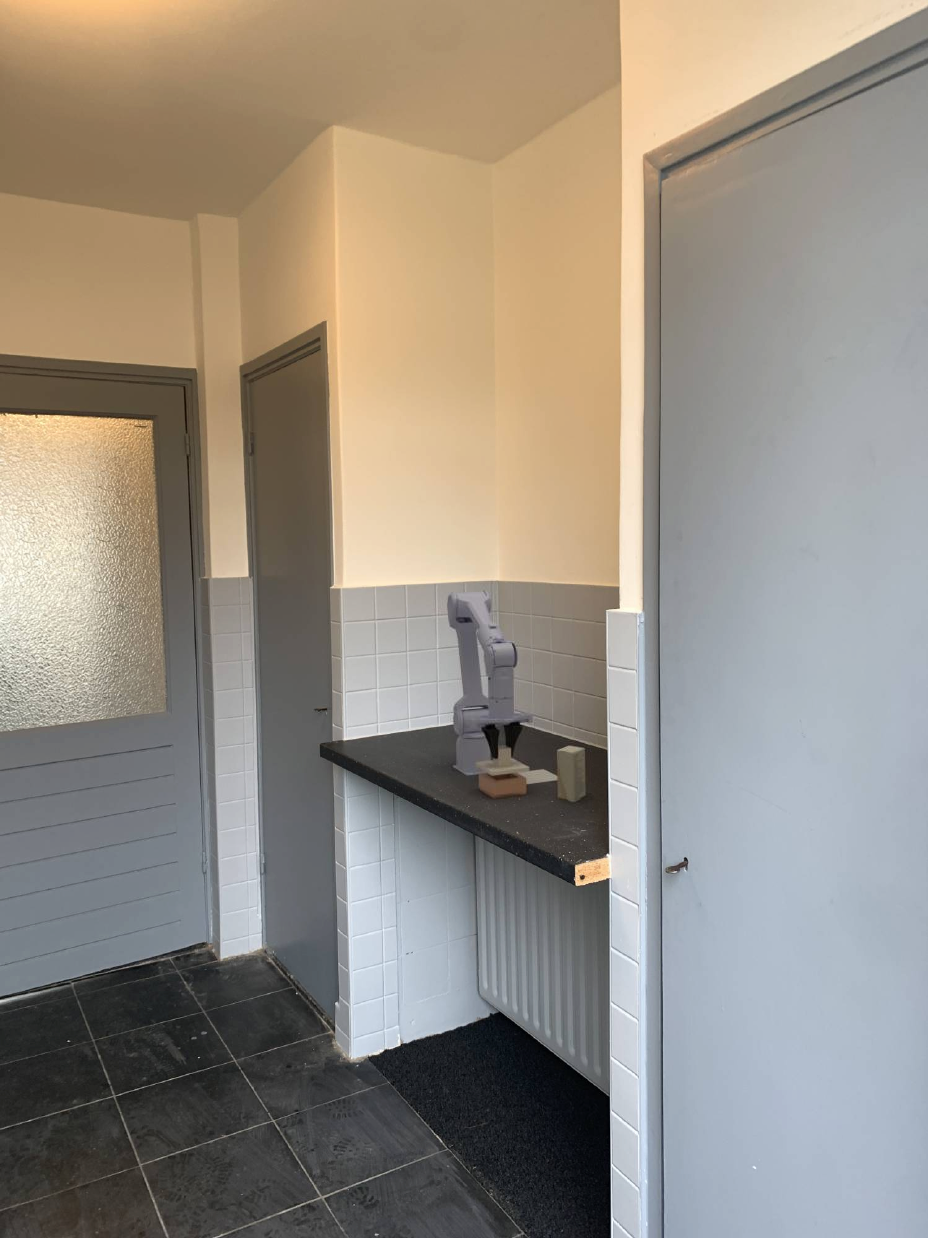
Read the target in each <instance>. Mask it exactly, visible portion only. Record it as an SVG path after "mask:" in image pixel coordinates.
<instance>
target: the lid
mask: <svg viewBox="0 0 928 1238" xmlns="http://www.w3.org/2000/svg"><path fill="white" fill-rule="evenodd" d="M476 766H477V767H479V768H480V769H482V770H484V771H485V772H487V773H488V774H490V775H492V776H493V775H501V774H509V773H518V772H526V771H530V767H529V766H528V765H525V764H524V763H522V762H520V761H518V760H517V759H515V758H513V757H511V748H510V747H508V746H506V744H502V745H498V759H494V758H493V759H492V760H491V759H490V761H483V762H476Z"/></svg>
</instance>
